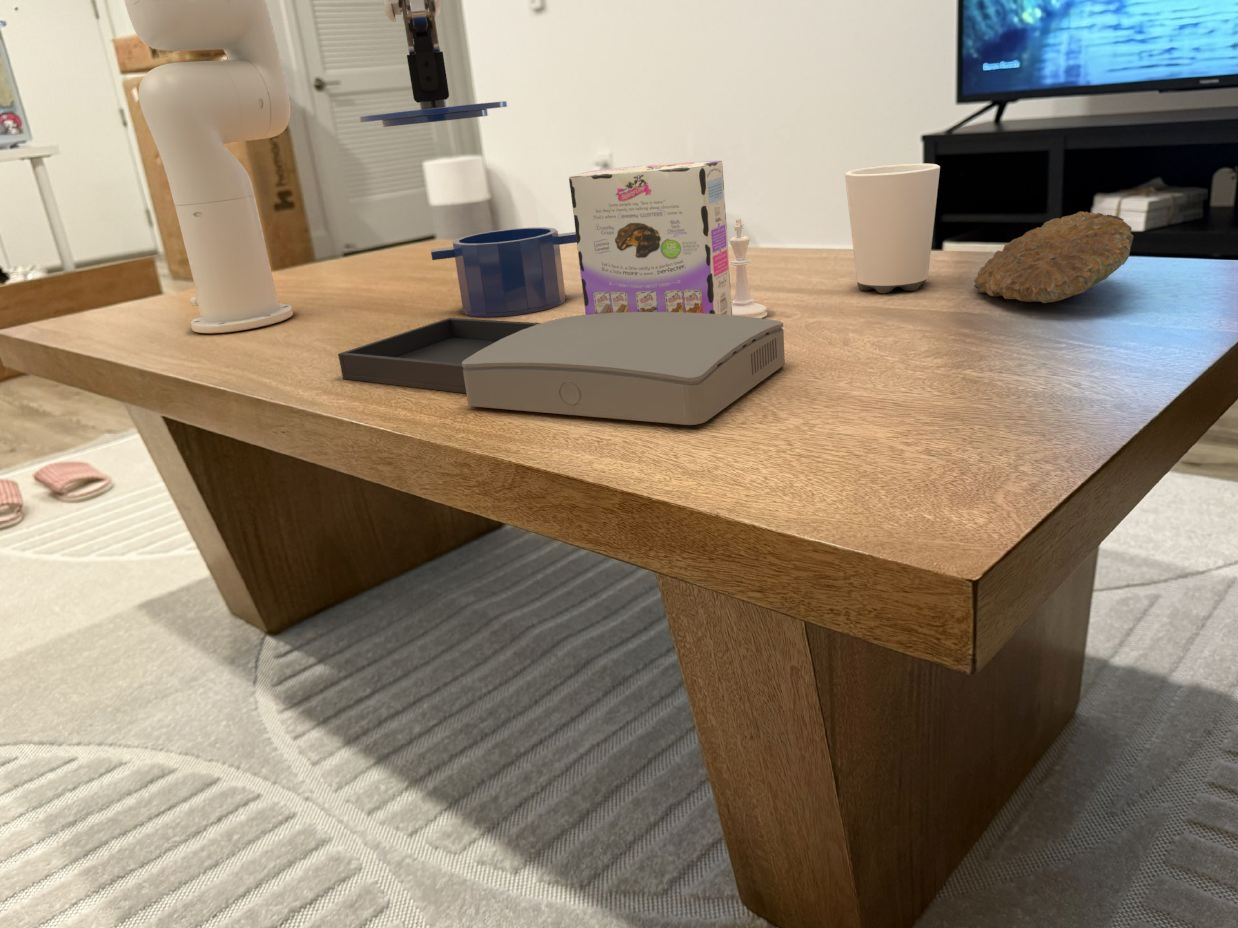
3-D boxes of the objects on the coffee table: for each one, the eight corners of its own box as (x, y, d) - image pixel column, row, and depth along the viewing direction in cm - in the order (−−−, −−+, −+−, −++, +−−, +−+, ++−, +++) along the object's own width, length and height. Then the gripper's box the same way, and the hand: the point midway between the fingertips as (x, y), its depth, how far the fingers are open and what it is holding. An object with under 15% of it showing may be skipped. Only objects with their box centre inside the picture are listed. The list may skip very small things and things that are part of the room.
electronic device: (585, 350, 96) (579, 299, 94) (796, 360, 85) (794, 303, 84) (462, 410, 81) (453, 351, 79) (700, 431, 70) (695, 363, 68)
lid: (366, 128, 97) (354, 62, 95) (503, 114, 99) (494, 48, 97) (356, 130, 84) (342, 53, 82) (514, 113, 86) (504, 38, 84)
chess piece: (714, 321, 102) (708, 224, 99) (727, 311, 107) (722, 216, 103) (760, 321, 100) (755, 221, 97) (772, 310, 105) (768, 214, 101)
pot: (441, 305, 126) (430, 238, 123) (579, 287, 129) (572, 221, 126) (441, 325, 115) (429, 251, 112) (593, 305, 117) (585, 232, 114)
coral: (990, 260, 109) (1105, 162, 99) (1045, 323, 108) (1167, 230, 98) (925, 298, 96) (1051, 189, 85) (988, 371, 94) (1123, 268, 84)
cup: (950, 291, 105) (952, 167, 100) (857, 300, 105) (855, 177, 101) (924, 275, 114) (925, 161, 110) (839, 283, 115) (836, 170, 110)
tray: (342, 378, 95) (337, 353, 94) (452, 340, 106) (449, 317, 106) (472, 394, 85) (468, 366, 84) (578, 350, 97) (575, 325, 96)
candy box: (735, 330, 98) (725, 158, 92) (715, 345, 93) (703, 164, 87) (610, 329, 104) (594, 167, 98) (585, 343, 99) (566, 174, 93)
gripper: (358, -103, 92) (394, 106, 98) (344, -146, 77) (387, 104, 83) (439, -109, 93) (469, 98, 99) (441, -153, 78) (476, 95, 84)
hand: (431, 99), depth 91 cm, fingers closed on lid, 2 cm apart
